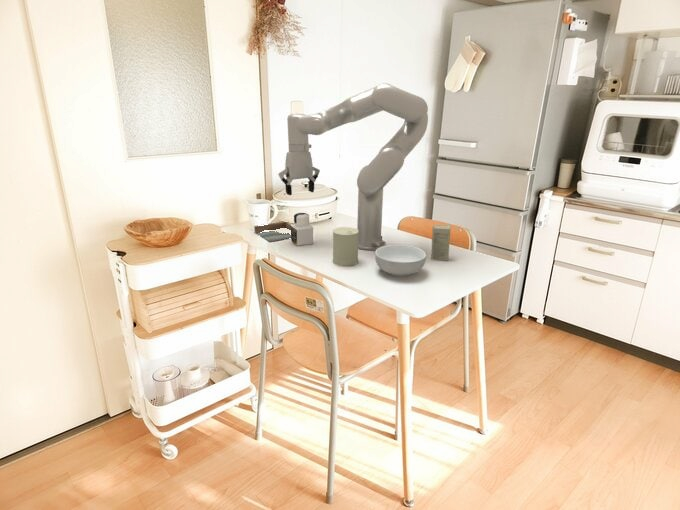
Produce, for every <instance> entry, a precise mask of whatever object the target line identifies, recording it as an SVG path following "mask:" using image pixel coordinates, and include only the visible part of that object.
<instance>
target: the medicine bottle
mask: <svg viewBox="0 0 680 510" xmlns="http://www.w3.org/2000/svg"><path fill="white" fill-rule="evenodd" d="M290 241H291V242H292V243H293V244H294V245H295V246H296V245H297V247H299V245H301V246H307V245H308V244H309V245H314V226H312V225H310V214H309V213H306V212H298V213H295V214H294V216H293V223H292V225H291V239H290Z"/></svg>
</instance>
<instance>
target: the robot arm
mask: <svg viewBox="0 0 680 510" xmlns="http://www.w3.org/2000/svg"><path fill="white" fill-rule="evenodd" d="M380 112H386V113H388V114H389V115H393V116H395V117H397V118H400V119H403V120H404V122H403V124H402V126H401V127H400V128H399V129H398V130H397V132H396V133H395V134H394V135H393V136H392V137H391V138H390V139H389V141H388V142H387V143H386V144H385V145H384V146H382V147H381V148H380V149H379V151H378V153H377V154H376V156H374V158H373V159H372V160H371V161H370V163H368V165H365V166H363V167H362V168H361V169H360V171H359V173H358V175H357V177H356V186H357V189H358V190H357V191H358V194H357V195H358V196H357V228H356V229H357V230H358V231H359V234H358V250H359V249H360V250H366V251H374V250H375V251H376V250H377V249H378V248H380V247H383V246H386V241H384V240H383V235H382V226H383V225H382V223H383V204H384V202H383V200H384V188H385V186H387V184H389V182H390V181H391V180H392V179H393V178H394V177H395V176H396V175H397V174H398V172H400V170H401V169H402V167H403V166H404V163H405V159H406V158H407V156H409V155H410V153H411V152H412V151H413V150H414V149H415V148H416V146H418V144H419V143H420V142H421V141H422V139H423V137H424V136H425V133H426V132H427V128H428V124H429V123H428V122H429V114H428V112H429V107H428V102H427V101H426V100H425V99H424V98H422V97H421V96H419V95H416V94H413V93H411V92H408V91H406V90H403V89H400V88H398V86H397V87H396V86H395V85H392V84H390V83H387V82H383V83H380V84H378V85H376V86H374V87H371V88H370V89H366V90H365V91H363V92H359V93H358V94H355V95H352V96H350V97H348V98H346V99H344V100H343V101H342V102H340V103H339V104H336V105H334V106H331V107H330V108H328V109H325V110H323V111H320V112H317V113H311V114H304V113H292V114H289V115H287V140H288V152H286V155H285V163H284V165H285V166H284V168H285V169H283V170H282V171H280V172H278V174H277V175H278V177H279V178H280V181H281V182H282V183H283V184H284V185H285V192H286V195H288V196H292V193H293V192H292V190H293V188H292V187H293V186H292V184H291V183H292V182H293V181H295V180H301V179H303V180H304V179H308V180H309V181H308V184H307V185H308V192H309V193H315V182H316V181H317V178H318V177H319V175H320V169H319V168H317V167H315V166H313V158H312V153H311V151H310V149H311V148H312V144H310V143H309V135H312V136H321V135H323V134H325V133H326V132H329V131H332V130H335V129H336V128H338V127H341V126H344V125H346V124H350V123H351V124H352V123H356V122H358V121H360V120H362V119H363V120H364V119H366V118H368V117H370V116H373V115H375V114H377V113H380Z"/></svg>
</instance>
